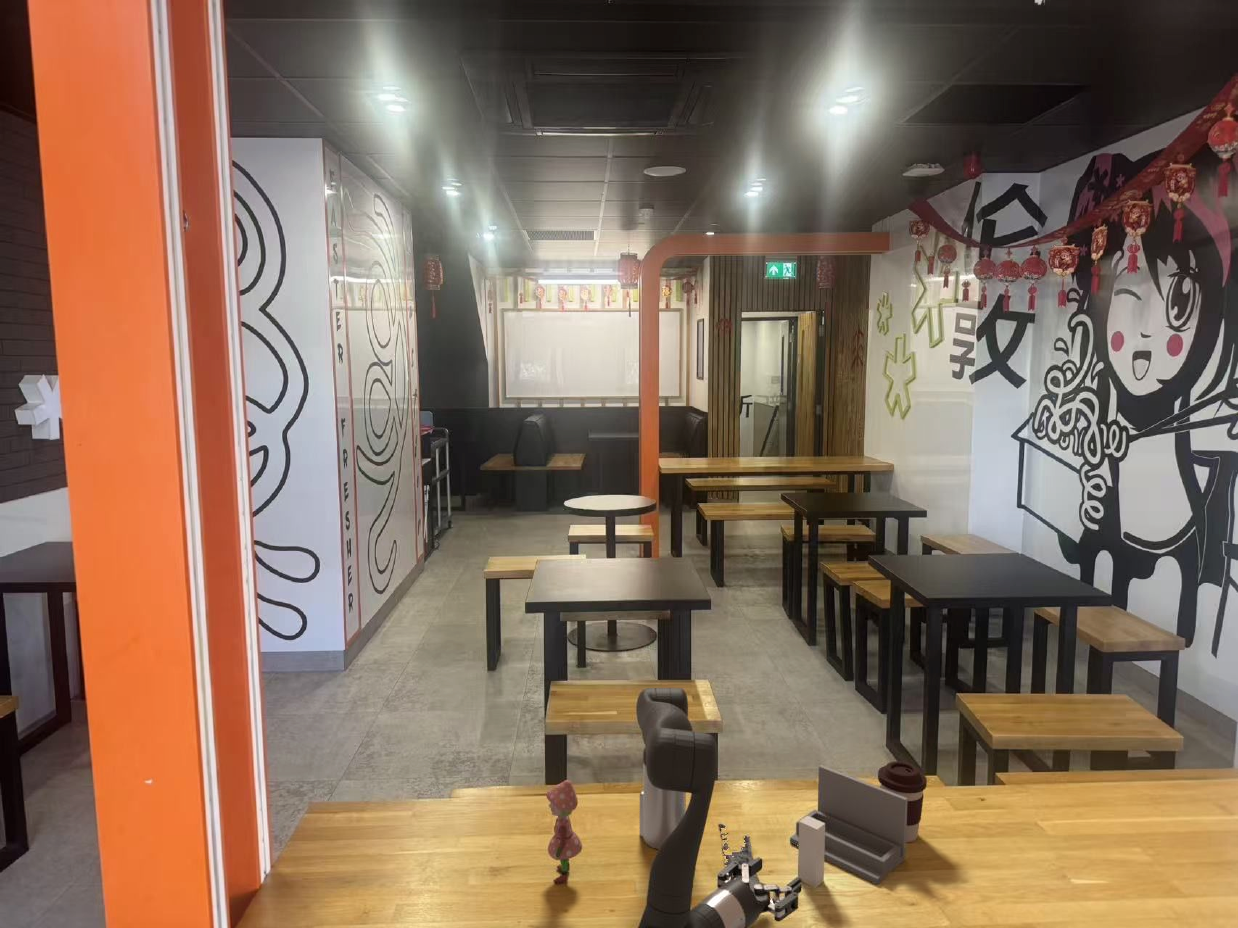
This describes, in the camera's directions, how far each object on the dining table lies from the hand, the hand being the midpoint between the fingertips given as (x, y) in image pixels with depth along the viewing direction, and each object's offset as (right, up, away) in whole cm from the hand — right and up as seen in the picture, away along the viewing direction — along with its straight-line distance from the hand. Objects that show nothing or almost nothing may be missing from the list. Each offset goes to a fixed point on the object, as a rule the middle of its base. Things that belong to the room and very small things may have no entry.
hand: (779, 872), depth 146 cm
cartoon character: (-41, -6, +9) cm, 42 cm away
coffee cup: (+31, -5, +24) cm, 40 cm away
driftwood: (-5, -6, +17) cm, 19 cm away
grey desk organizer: (+18, -5, +18) cm, 26 cm away
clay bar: (+8, -6, +8) cm, 13 cm away
